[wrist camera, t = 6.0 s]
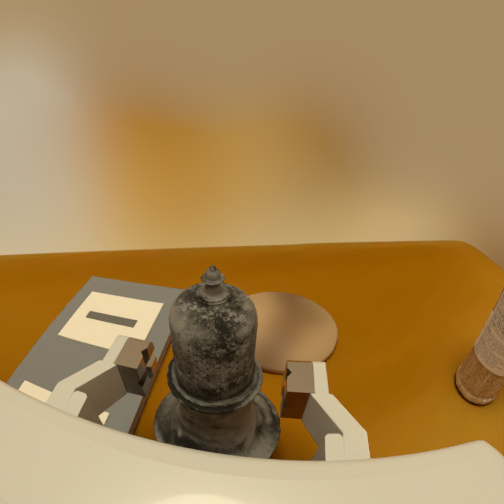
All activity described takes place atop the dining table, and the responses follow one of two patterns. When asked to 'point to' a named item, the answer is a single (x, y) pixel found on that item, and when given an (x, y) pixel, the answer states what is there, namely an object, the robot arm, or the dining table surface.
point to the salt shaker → (216, 375)
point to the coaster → (291, 331)
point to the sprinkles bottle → (485, 361)
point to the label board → (99, 340)
